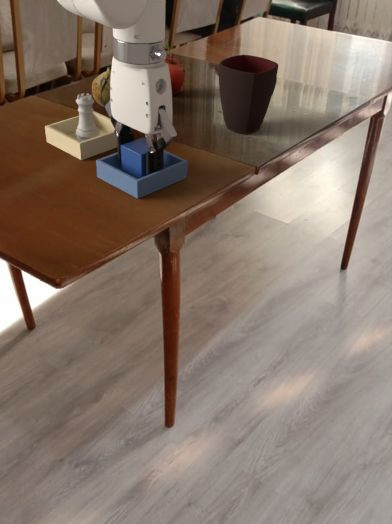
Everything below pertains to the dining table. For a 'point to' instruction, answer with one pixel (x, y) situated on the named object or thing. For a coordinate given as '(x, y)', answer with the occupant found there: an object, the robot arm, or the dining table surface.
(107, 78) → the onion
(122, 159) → the blue block
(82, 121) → the rook chess piece
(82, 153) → the ivory tray
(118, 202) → the dining table surface
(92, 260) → the dining table surface
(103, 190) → the dining table surface
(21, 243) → the dining table surface
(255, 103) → the cup
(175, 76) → the apple
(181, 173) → the blue tray
